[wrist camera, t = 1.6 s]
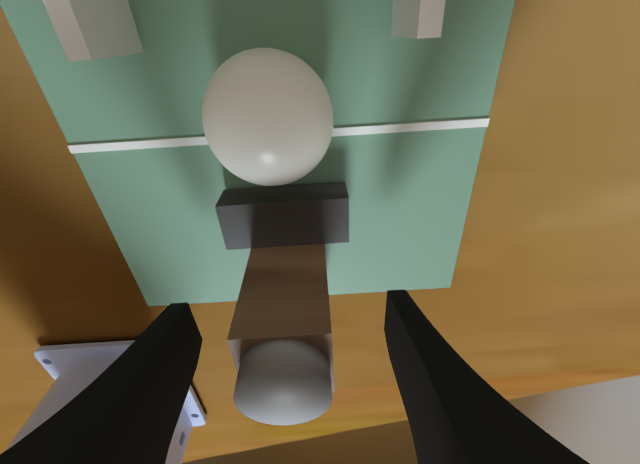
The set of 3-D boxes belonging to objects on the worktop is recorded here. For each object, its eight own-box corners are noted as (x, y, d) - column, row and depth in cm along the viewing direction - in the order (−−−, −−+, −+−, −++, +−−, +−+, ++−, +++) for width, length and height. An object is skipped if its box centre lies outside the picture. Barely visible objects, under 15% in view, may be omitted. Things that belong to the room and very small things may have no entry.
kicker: (346, 274, 16) (368, 421, 10) (245, 280, 16) (208, 431, 10) (345, 181, 13) (375, 307, 7) (223, 189, 13) (154, 321, 7)
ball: (331, 157, 13) (340, 203, 9) (232, 163, 13) (204, 212, 9) (327, 40, 10) (336, 46, 7) (207, 48, 10) (159, 57, 7)
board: (445, 279, 17) (450, 288, 17) (153, 298, 17) (147, 307, 17) (554, -230, 8) (573, -250, 7) (-76, -188, 8) (-106, -204, 7)
